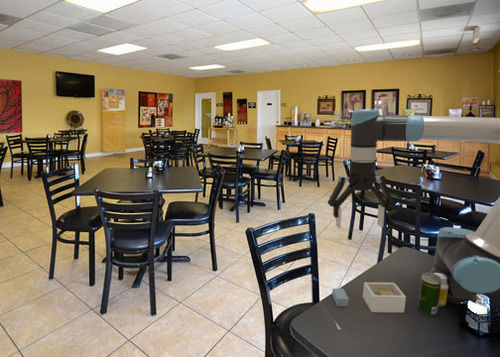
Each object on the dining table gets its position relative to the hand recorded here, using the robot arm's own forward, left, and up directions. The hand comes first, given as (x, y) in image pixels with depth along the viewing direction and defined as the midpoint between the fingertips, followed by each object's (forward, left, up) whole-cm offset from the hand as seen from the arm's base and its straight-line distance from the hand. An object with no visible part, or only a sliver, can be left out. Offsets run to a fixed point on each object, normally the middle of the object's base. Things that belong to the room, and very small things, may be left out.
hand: (359, 226), depth 100 cm
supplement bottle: (-27, +2, -26) cm, 37 cm away
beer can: (-21, +7, -26) cm, 34 cm away
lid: (+5, +8, -26) cm, 28 cm away
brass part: (-9, +5, -25) cm, 27 cm away
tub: (-8, +5, -25) cm, 27 cm away
